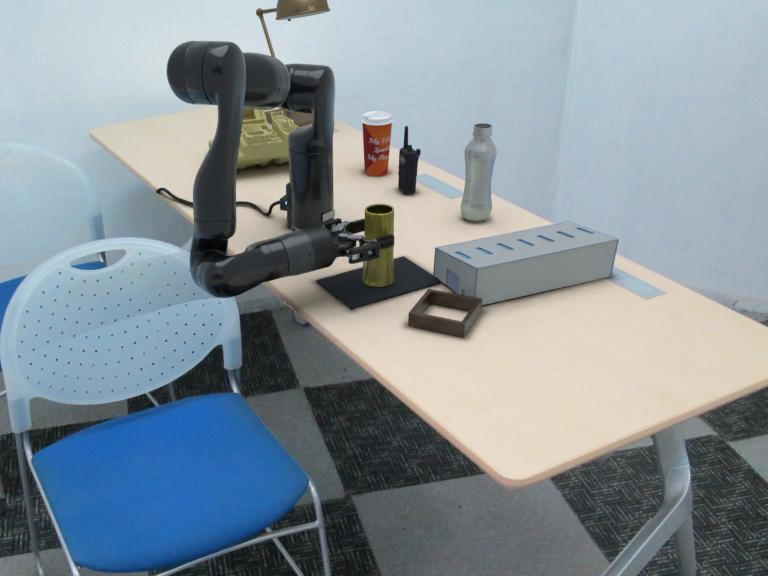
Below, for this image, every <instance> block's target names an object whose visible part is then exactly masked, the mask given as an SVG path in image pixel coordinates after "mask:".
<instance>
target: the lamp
mask: <svg viewBox="0 0 768 576" xmlns="http://www.w3.org/2000/svg"><path fill="white" fill-rule="evenodd" d="M329 12H331V8H330V7H329V3H328V0H277V2H276V7H273V8H265V9H262V8H260V7H259V8H257V9H256V11H255V14H256V16H257V17H258V18H259V20H260V24H261V27H262V30H263V33H264V37H265V40H266V43H267V47H268V50H269V53H270V56H272V57H275V58H277V57H276V55H275V51H274V47H273V43H272V41H271V38H270V35H269V32H268V28H267V25H266V21H265V18H264V17H265V16H264V14H265V15H266V14H267V15H268V14H270V13H275V14H276V17H275V21H286V20H287V22H291V21H292V20H293V19H301V18H306V17H311V16H315V15H321V14H325V13H329ZM281 110H283V109H280V108H276V109H271V110H265V111H264V112H265V115H266V118H267V122H268V123H270V124H272V119H271V114H270V112H271V111H272V112H279V111H281ZM278 114H279V115H281V113H274V114H273V115H278ZM283 115H284V116H286V117H287V118H289V119H290V120H293V121H294V124H295V125H297V126H298V127H299V128H300V127H303V126H307V125H309V124H311V123H312V120H313V114H303V113H293V112H288V111H285V110H283Z"/></svg>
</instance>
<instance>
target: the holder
mask: <svg viewBox="0 0 768 576" xmlns="http://www.w3.org/2000/svg"><path fill="white" fill-rule="evenodd" d="M430 305H434V306H440V307H445V308H450V309H456V310H460V311H465V312H467V313H466V314H465V316H464V318H463V319H462V320H456V319H451V318H447V317H442V316H437V315H433V314H426V313H425V311H426V310H427V309H428V308H429V306H430ZM482 306H483V305H482V299H481V298H476V297H471V296H465V295H460V294H457V293H456V292H455V293H454V292H449V291H444V290H440V289H439V290H438V289H433V288H428V289H427V290H426V291H425V292H424V293H423V294H422V296H420V298H419V299H418V301H417V302H416V303H415V304H414V305H413V307H412V308H411V309H410V310H409V312H408V319H407V321H408V322H407V326H408V327H411V328H416V329H420V330H426V331H431V332H434V333H439V334H444V335H450V336H454V337H459V338H465V337H466V335H467V334H468V332H469V331H470V329H471V328H472V326H473V325H474V323H475V322H476V320H477V319H478V318H479V315H480V314H481V312H482V309H483V308H482Z"/></svg>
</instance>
